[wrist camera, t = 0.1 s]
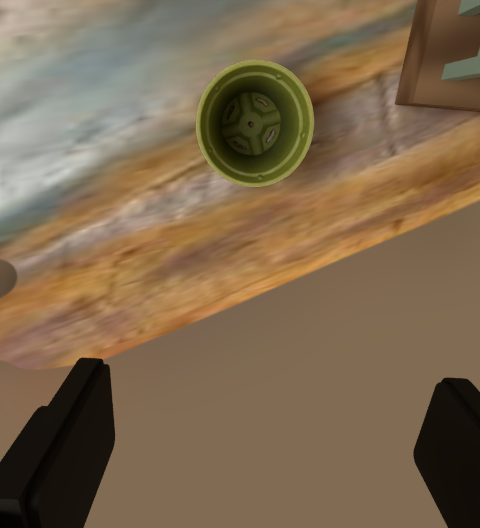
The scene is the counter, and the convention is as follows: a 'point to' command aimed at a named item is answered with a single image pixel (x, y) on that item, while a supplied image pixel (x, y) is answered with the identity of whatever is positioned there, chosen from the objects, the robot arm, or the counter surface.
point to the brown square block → (439, 57)
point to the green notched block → (471, 5)
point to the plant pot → (255, 123)
